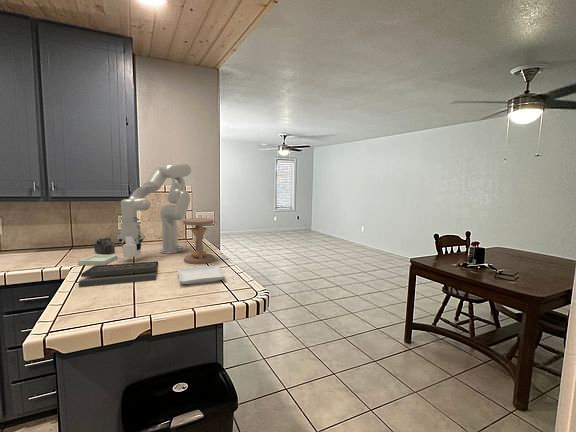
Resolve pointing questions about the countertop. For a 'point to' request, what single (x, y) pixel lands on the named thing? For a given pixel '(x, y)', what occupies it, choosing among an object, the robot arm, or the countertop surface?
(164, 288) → the countertop surface
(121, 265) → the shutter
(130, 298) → the countertop surface
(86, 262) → the pale green square tray
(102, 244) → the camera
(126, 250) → the medicine bottle
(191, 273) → the grey flat square slab
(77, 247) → the countertop surface
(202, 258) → the hourglass
